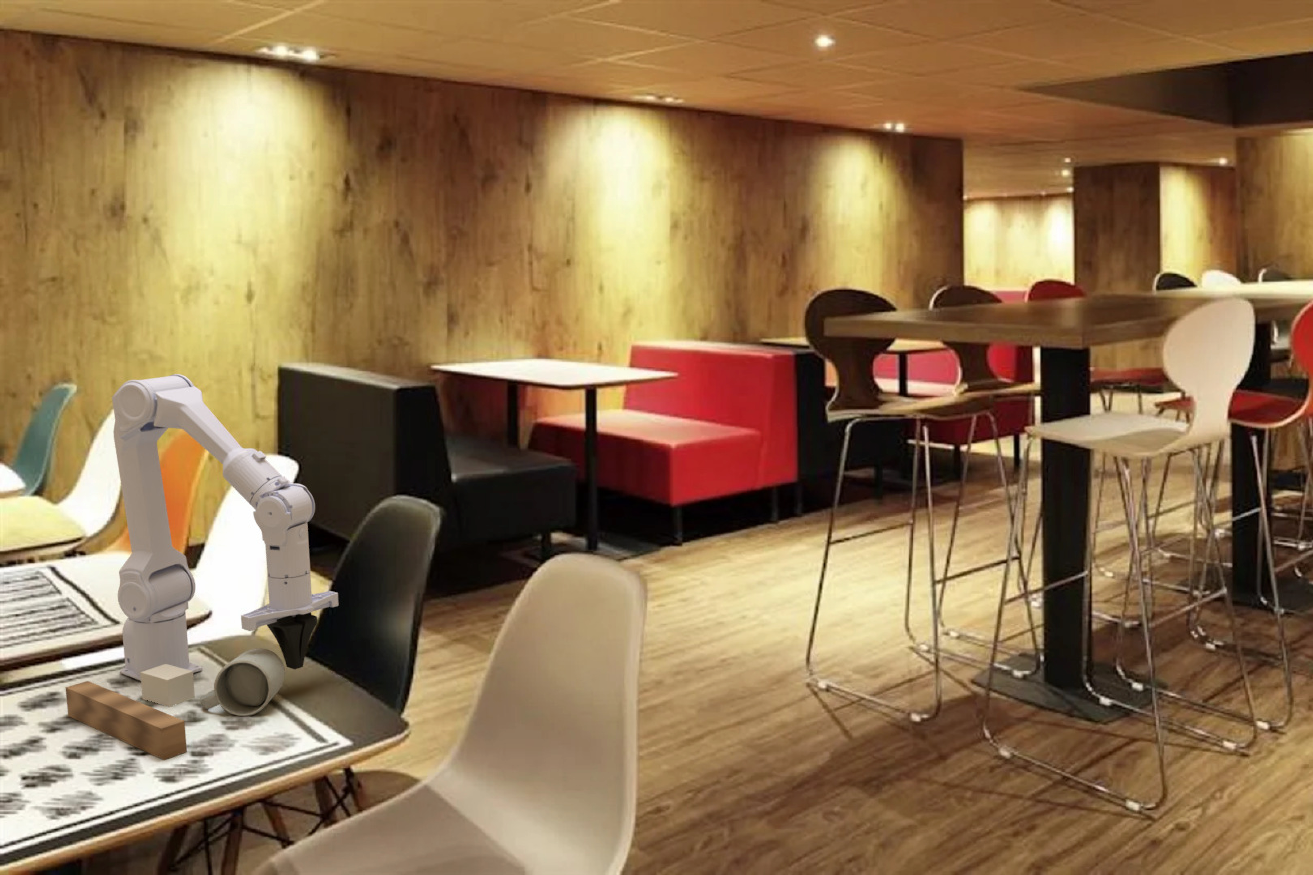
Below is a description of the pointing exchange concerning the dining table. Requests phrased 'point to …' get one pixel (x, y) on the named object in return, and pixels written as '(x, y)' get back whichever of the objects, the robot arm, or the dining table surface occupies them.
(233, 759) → the dining table surface
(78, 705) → the walnut rail
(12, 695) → the dining table surface
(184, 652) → the robot arm
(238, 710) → the ceramic mug
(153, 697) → the beige rectangular block
